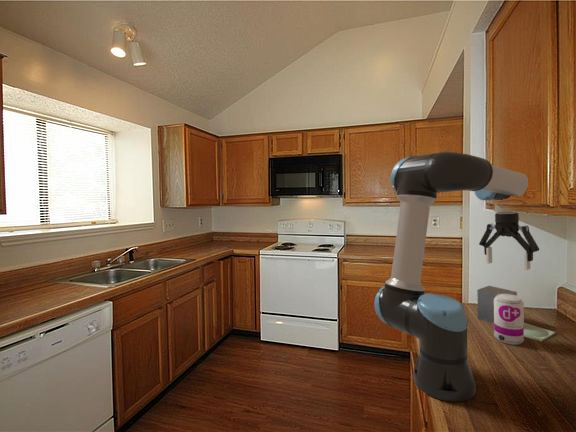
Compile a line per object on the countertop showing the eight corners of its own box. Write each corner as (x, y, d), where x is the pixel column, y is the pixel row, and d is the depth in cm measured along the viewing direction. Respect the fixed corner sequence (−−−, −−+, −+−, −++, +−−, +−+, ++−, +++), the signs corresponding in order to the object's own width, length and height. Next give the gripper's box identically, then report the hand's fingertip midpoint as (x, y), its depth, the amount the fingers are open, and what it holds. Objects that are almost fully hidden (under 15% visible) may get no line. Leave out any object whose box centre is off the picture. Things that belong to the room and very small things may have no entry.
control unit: (506, 328, 113) (506, 296, 112) (477, 319, 122) (477, 289, 121) (518, 322, 117) (518, 292, 116) (489, 314, 126) (489, 285, 125)
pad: (540, 341, 102) (540, 339, 102) (507, 330, 111) (507, 328, 111) (554, 333, 107) (554, 331, 107) (522, 323, 116) (522, 321, 116)
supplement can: (523, 348, 99) (523, 302, 98) (493, 341, 104) (492, 298, 103) (523, 337, 106) (523, 295, 105) (494, 332, 111) (494, 291, 110)
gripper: (550, 212, 111) (550, 270, 112) (479, 210, 132) (480, 259, 134) (540, 214, 107) (540, 274, 109) (469, 212, 129) (470, 262, 131)
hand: (507, 266), depth 122 cm, fingers open, 13 cm apart
